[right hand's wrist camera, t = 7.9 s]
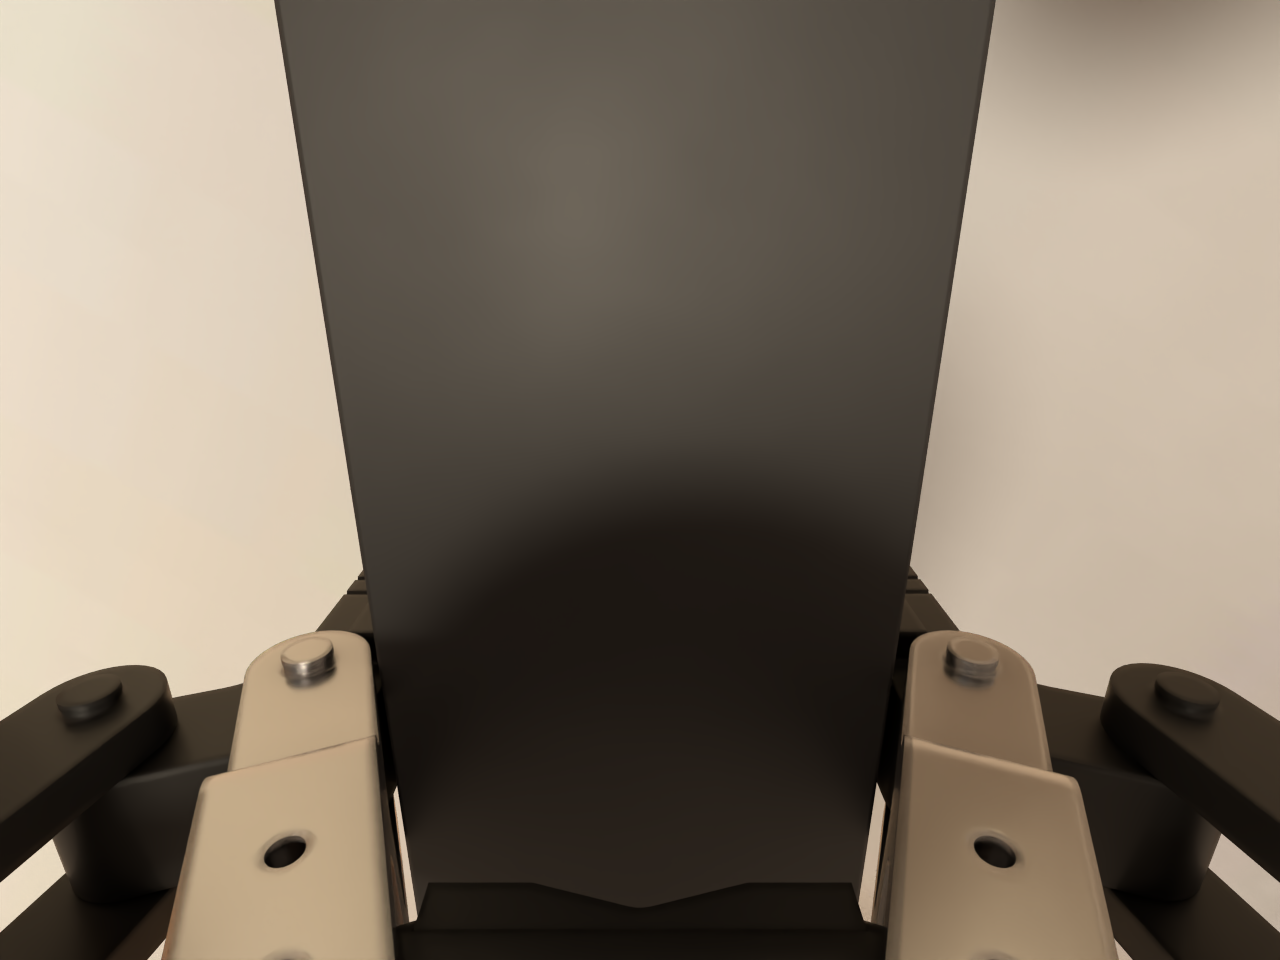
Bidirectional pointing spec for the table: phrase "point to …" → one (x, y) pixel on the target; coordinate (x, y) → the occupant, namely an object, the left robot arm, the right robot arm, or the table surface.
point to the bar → (635, 409)
